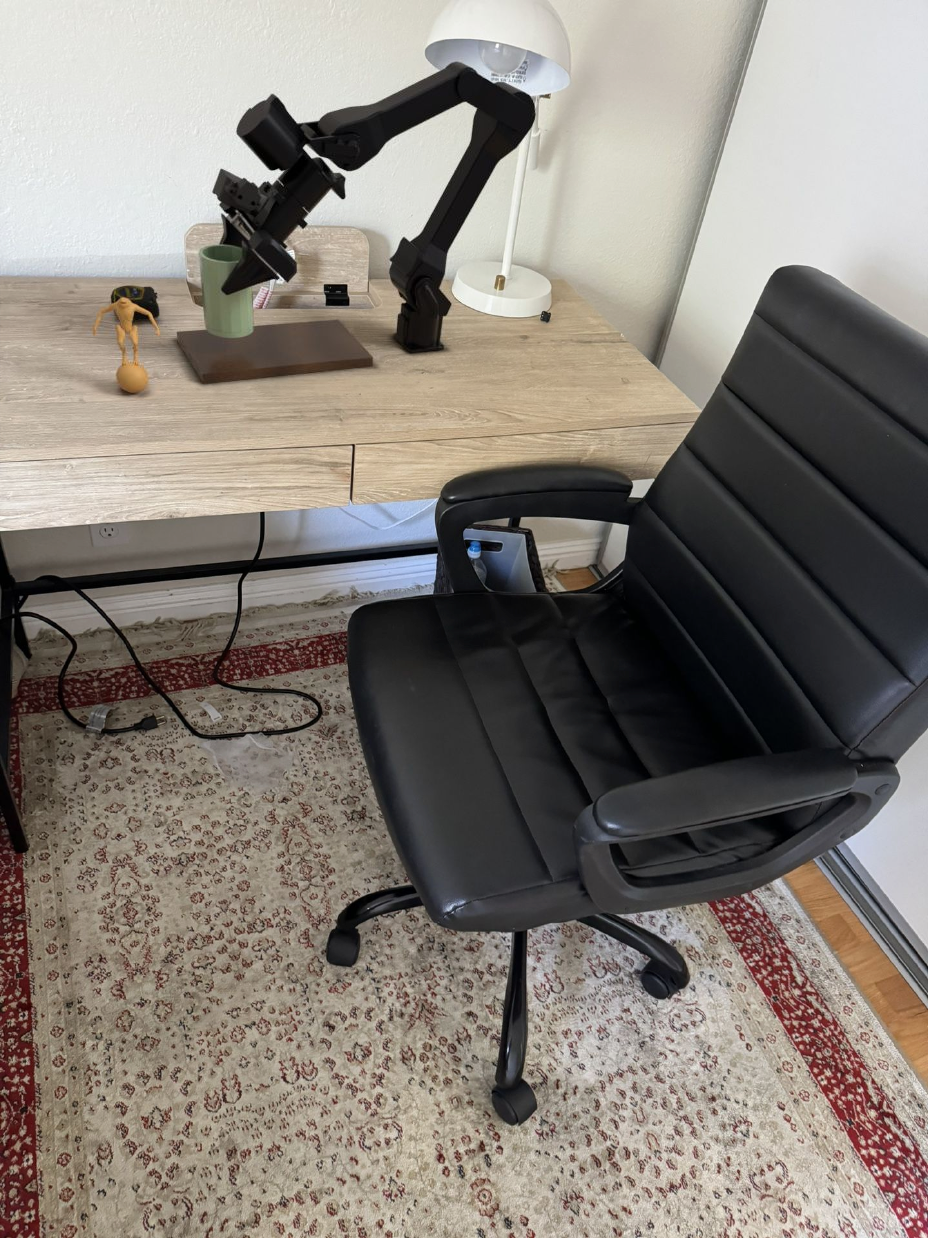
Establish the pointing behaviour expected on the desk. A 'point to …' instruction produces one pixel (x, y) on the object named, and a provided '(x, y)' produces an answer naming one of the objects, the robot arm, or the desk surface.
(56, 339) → the desk surface
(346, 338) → the walnut board
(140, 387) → the figurine
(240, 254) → the pencil cup
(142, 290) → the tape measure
